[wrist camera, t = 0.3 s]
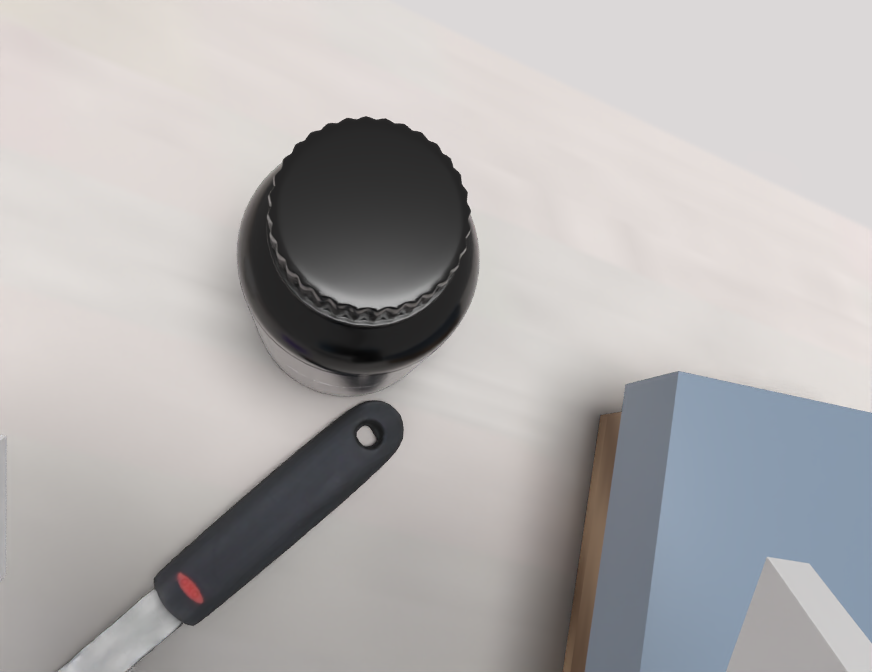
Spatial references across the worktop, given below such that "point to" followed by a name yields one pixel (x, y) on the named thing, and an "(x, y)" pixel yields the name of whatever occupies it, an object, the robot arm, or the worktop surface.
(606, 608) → the slate lid
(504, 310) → the worktop surface
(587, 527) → the walnut spice box
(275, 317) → the supplement bottle
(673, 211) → the worktop surface
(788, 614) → the robot arm
